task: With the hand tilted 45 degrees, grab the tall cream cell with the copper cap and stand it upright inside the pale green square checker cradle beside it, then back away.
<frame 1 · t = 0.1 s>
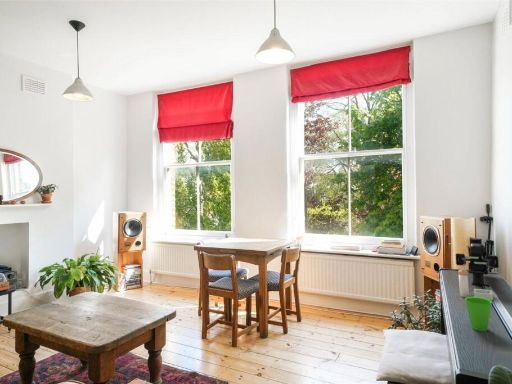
hand: (476, 263, 168), 17 cm above the table, tool horizontal, fingers open, 9 cm apart
cup: (479, 329, 129), on the table
cradle: (483, 297, 165), on the table
cell: (464, 296, 169), on the table
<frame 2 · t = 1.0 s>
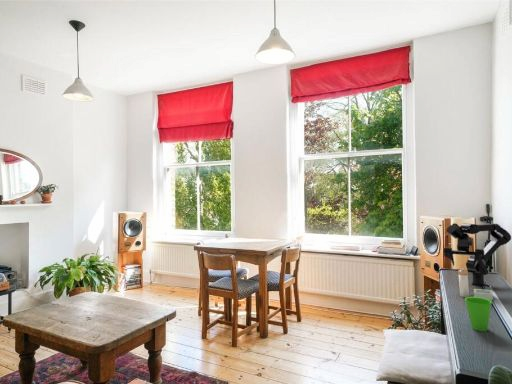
hand: (463, 266, 176), 14 cm above the table, tool tilted 45°, fingers open, 9 cm apart
nothing on the table moved.
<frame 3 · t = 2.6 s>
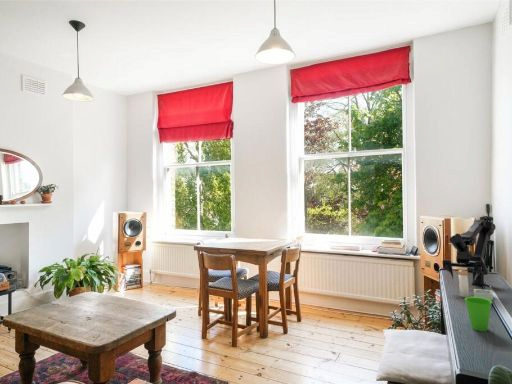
hand: (463, 279, 170), 8 cm above the table, tool tilted 45°, fingers open, 9 cm apart
nothing on the table moved.
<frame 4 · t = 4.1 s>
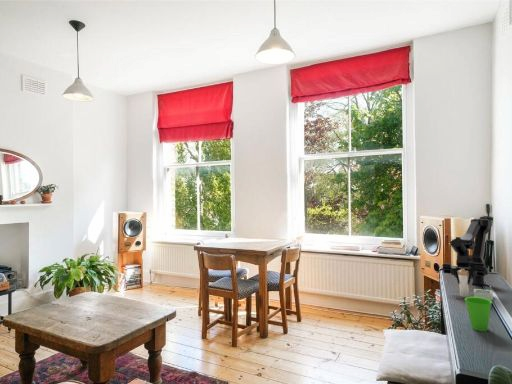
hand: (463, 283, 168), 7 cm above the table, tool tilted 45°, fingers closed on cell, 4 cm apart
cell: (464, 296, 169), on the table, touching gripper
everything else where it was.
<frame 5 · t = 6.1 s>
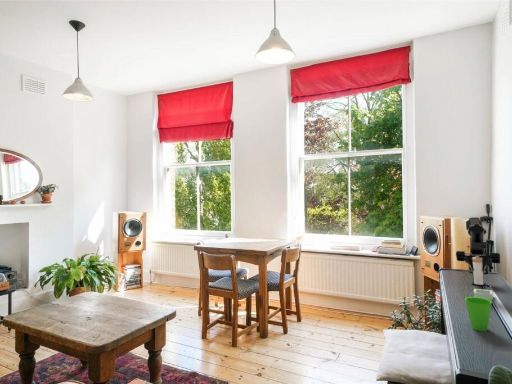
hand: (477, 271, 165), 13 cm above the table, tool tilted 45°, fingers closed on cell, 4 cm apart
cell: (478, 283, 166), point 7 cm above the table, touching gripper
everything else where it was.
when the fingers open (8 cm above the table, at t = 8.2 s): cell drops 1 cm, resting on cradle.
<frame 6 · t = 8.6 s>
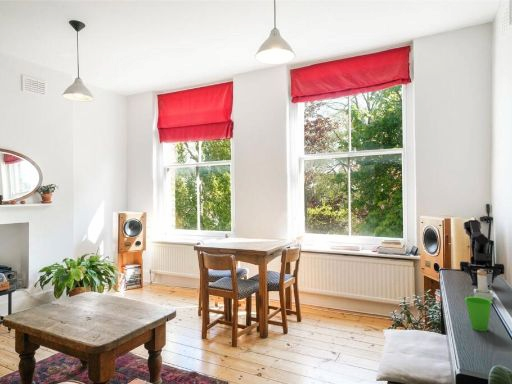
hand: (482, 282, 164), 8 cm above the table, tool tilted 45°, fingers open, 8 cm apart
cell: (483, 296, 165), resting on cradle
everything else where it was.
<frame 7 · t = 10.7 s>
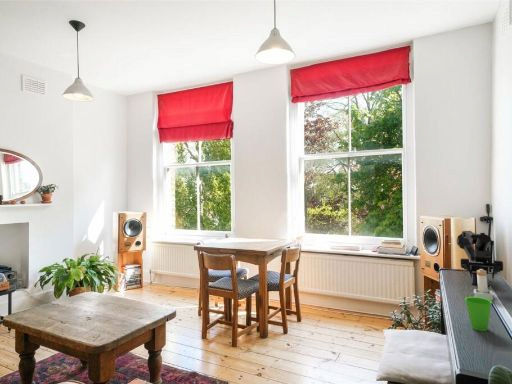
hand: (481, 278, 171), 8 cm above the table, tool tilted 45°, fingers open, 9 cm apart
nothing on the table moved.
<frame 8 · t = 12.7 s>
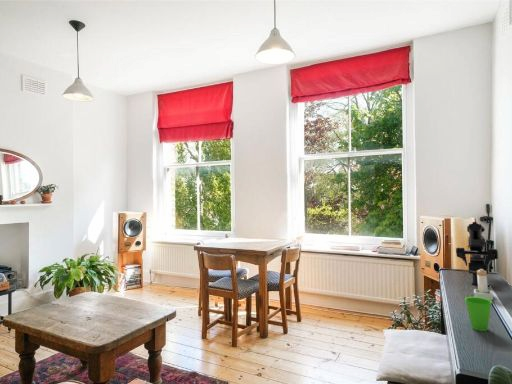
hand: (476, 266, 175), 14 cm above the table, tool tilted 45°, fingers open, 9 cm apart
nothing on the table moved.
at the end: cell 0.1 cm off-centre on the cradle, point 0.3 cm above the cradle's base; cell tilted 1°; the gripper is holding nothing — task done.
